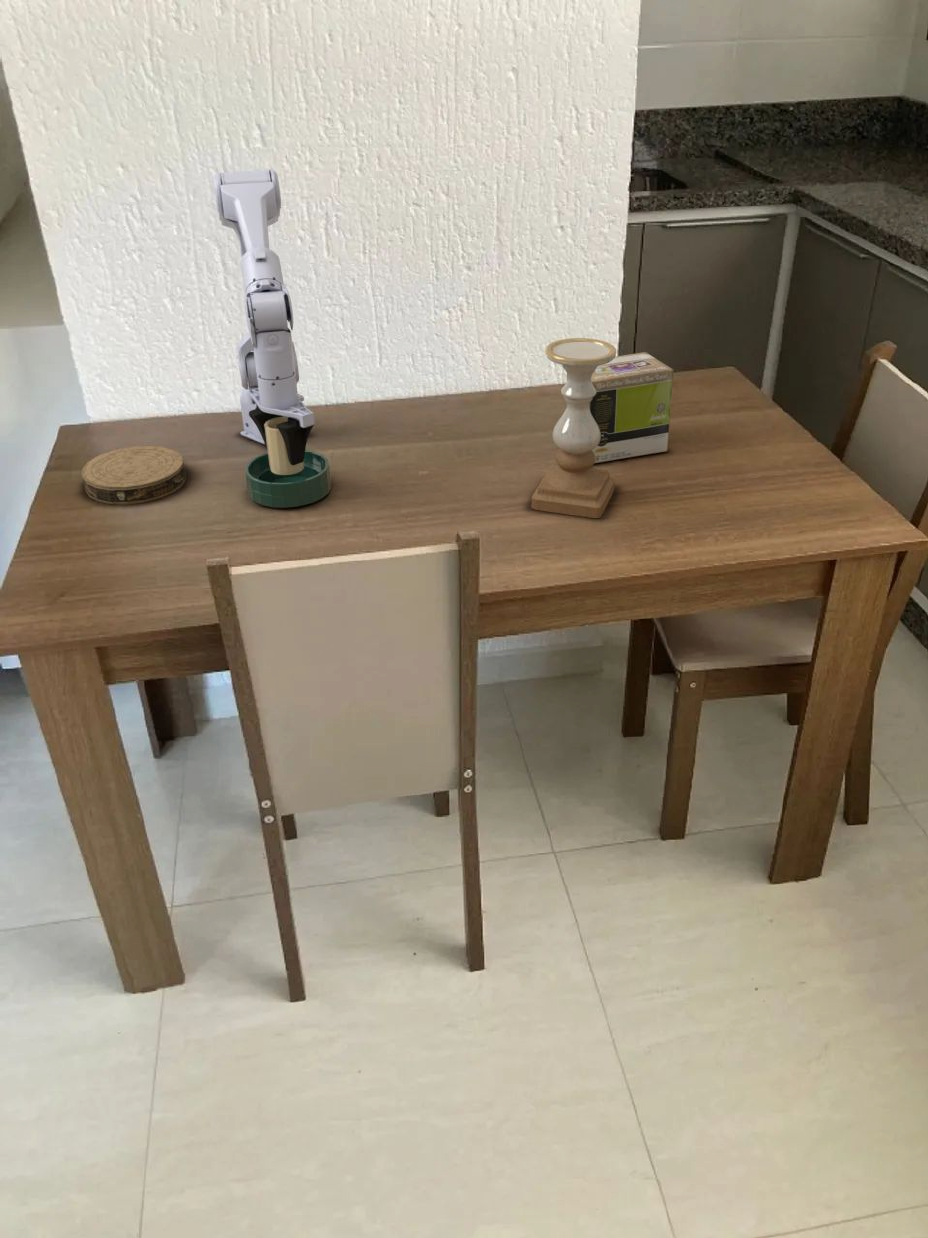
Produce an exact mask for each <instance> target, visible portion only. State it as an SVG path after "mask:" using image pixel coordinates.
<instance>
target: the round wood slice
mask: <svg viewBox="0 0 928 1238" xmlns="http://www.w3.org/2000/svg"><path fill="white" fill-rule="evenodd" d="M81 477H82V482H83V486H84V489H85V492H86V494H87V495H88V497H89V498H91V499H92V500H94V501H97V502H98V503H104V504H109V505H135V504H143V503H148V502H151V501H155V500H159V499H162V498H165V497H166V496H168V495H171V494H173V493H175V492H177V490H179V489H181V488H182V487H183V485H184V483H185V482H186V480H187V476H186V469H185V464H184V457H183V456H182V455H181V454H180V452H178V451H177V450H174V449H171V448H169V447H164V446H158V445H136V446H127V447H121V448H118V449H113V450H110V451H107V452H105V453H102V454H99V455H97V456H96V457H93V458H92V459H90V460H88V461H87V462H86V464H85V465H84V466H83V467H82V471H81Z"/></svg>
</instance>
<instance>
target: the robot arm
mask: <svg viewBox="0 0 928 1238" xmlns="http://www.w3.org/2000/svg"><path fill="white" fill-rule="evenodd" d="M212 181H213V190H214V195H215V203H216V211H217V213H218V219H219V221H220V222H221V225H222V226H223V227H226V228H229V229H232V230H233V231H234V234H235V236H236V237H237V240H238V245H239V252H240V269H241V274H242V281H243V287H244V293H245V297H244V301H243V303H244V312H245V319H246V324H247V329H248V333H247V334H246V335H244V336H243V337H242V338H241V339H240V340H239V341H238V342H237V343H238V344H237V346H236V350H237V361H238V363H237V364H238V370H239V376H240V377H239V378H240V383H241V387H242V388H243V389H242V390H241V393H240V399H239V403H240V411H241V417H242V426H243V430H242V431H240V436H243V437H245V438H247V439H250V440H252V441H255V442H258V443H259V444H262V445H264V446H265V448H266V451H267V452H268V450H267V442H266V434H265V427H264V424H265V422H267V421H268V420H270V419H273V418H277V417H287V418H288V421H286V422H283V423H280V424H277V428H278V430H279V431H280V433H281V435H282V437H283V439H284V442H285V445H286V450H287V455H288V459H289V462H290V464H291V465H296V464H299V463H302V462H303V461H304V455H305V450H307V449H306V447H307V443H308V439H309V436H310V433H311V432H312V429H313V427H314V426H315V424H316V423H315V415H314V414H315V413H314V412H313V411H311V410H310V409H309V408H308V407H307V406H306V405H305V403H304V401H305V396H304V395H302V394H300V393H298V383H299V382H300V372H299V364H298V357H297V351H296V348H295V342H294V341H293V337H292V331H293V330H294V313H293V305H292V300H291V296H290V294H289V291H288V288H287V284H286V283H284V282H285V281H284V276H283V272H282V266H281V261H280V257H279V255H278V254H277V253H276V252H275V251H273V250H272V249H270V239H269V226H271V225H274V224H275V223H278V222H279V217H280V216H281V208H282V199H281V190H280V189H281V188H280V182H279V175H278V172H277V171H276V170H275V169H273V168H269V169H262V170H247V171H246V170H243V171H228V172H227V171H226V172H220V171H215V172H214V174H213V175H212ZM288 323H289V326H290V327H289V326H288Z"/></svg>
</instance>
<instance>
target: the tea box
mask: <svg viewBox="0 0 928 1238" xmlns="http://www.w3.org/2000/svg"><path fill="white" fill-rule="evenodd" d="M591 381H592V384H593V386H594V388H595V389H596V395H595V396H594V397H593V399H592V401H591V402H590V405H589V409H590V412H591V414H592V416H593V418H594V419H595V421H596V423H597V424H598V427H599V429H600V432H601V439H600V442H599V444H598V445H597V446H596V447H595V448H594V449H593V450H592V451H593V453H594V454H595V463H594V464H598V463H604V462H609V461H610V462H611V461H615V460H621V459H626V458H627V459H628V458H633V457H639V456H645V455H646V456H647V455H651V454H652V455H653V454H657V453H665V452H668V447H669V437H670V432H669V431H670V423H671V410H672V409H671V407H672V398H673V397H672V394H673V385H674V384H673V383H674V382H673V381H674V368H672V367H670V366H668V365H667V364H665V363H663V362H662V361H660V360H659V359H657V358H656V357H654V356H653V355H651V354H649V353H648V352H647V351H643V352H636V353H629V354H624V355H616V356H615V358H614V359H613V360H612V361H611V362H609V363H606V364H603V365H599V366H598V367H597V368H596V369H595V371H594V372H593V374H592V377H591ZM566 407H567V403H566V402H565V408H566Z"/></svg>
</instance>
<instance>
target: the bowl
mask: <svg viewBox="0 0 928 1238" xmlns="http://www.w3.org/2000/svg"><path fill="white" fill-rule="evenodd" d="M330 469H331V468H330V462H329V459H328V458H327V457H326V456H324V455H323V454H322V453H319V452H316V451H313V450H310V449H305V455H304V469H303V470H302V471H300V472H298V473H296V474H292V475H278V474H274V473H273V472H271V470H270V465H269V457H268V452H265V453H262V454H260V455H257V456H255V457H254V458H252V459H251V460H250V461H248V463H247V464H246V465H245V467H244V471H245V481H246V486H247V493H248V494H247V495H248V497H249V498H250V500H252V501H253V502H254V503H257V504H259V505H261V506H265V507H270V508H282V509H283V508H284V509H285V508H295V507H301V506H305V505H310V504H313V503H316V502H318V501H320V500H322V499H323V498H324V497H326V496H327V495H328V494H329V493H330V491H331V489H332V480H331V470H330Z"/></svg>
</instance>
